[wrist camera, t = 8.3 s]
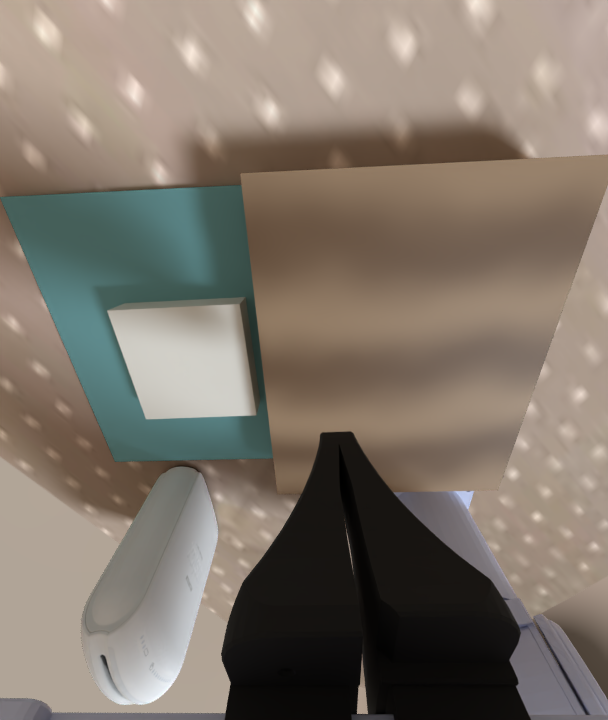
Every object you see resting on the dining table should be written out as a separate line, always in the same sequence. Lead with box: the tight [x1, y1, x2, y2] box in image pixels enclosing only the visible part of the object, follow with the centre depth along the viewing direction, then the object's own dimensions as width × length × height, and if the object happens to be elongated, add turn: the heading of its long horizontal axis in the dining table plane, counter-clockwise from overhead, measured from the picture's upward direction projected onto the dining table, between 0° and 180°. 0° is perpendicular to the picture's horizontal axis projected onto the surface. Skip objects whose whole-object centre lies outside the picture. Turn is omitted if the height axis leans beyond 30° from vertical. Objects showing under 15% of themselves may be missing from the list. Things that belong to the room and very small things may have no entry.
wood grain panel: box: [240, 155, 608, 494], centre depth 18 cm, size 20×16×4 cm
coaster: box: [107, 297, 260, 419], centre depth 19 cm, size 8×8×2 cm
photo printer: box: [81, 466, 218, 705], centre depth 22 cm, size 10×4×12 cm, turn 2°
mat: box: [0, 185, 273, 462], centre depth 20 cm, size 20×14×1 cm
